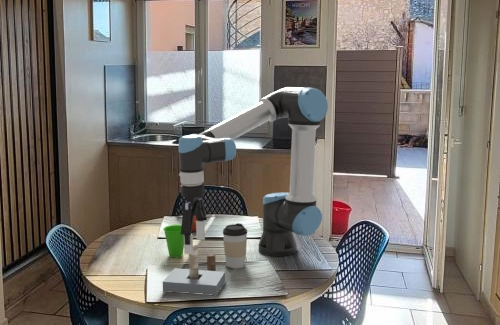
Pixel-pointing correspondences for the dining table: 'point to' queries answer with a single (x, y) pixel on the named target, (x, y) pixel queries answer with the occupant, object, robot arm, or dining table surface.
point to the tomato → (194, 224)
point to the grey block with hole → (194, 281)
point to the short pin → (211, 262)
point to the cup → (174, 240)
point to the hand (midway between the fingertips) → (195, 246)
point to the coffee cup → (235, 245)
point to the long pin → (194, 263)
